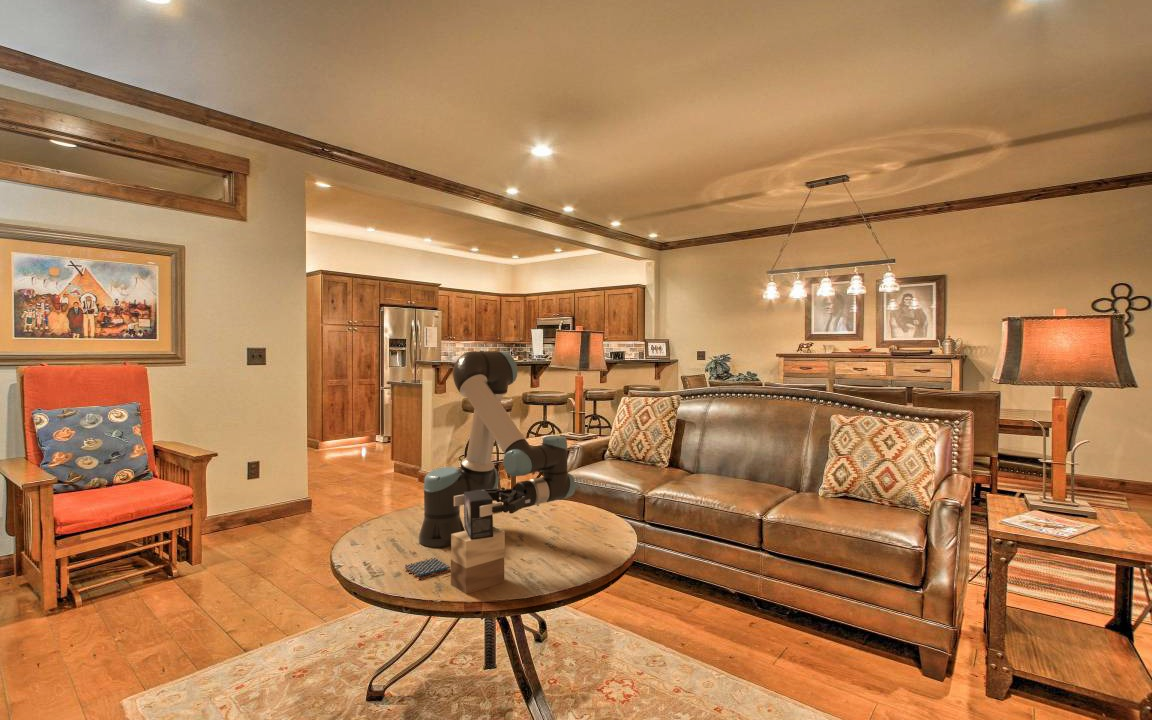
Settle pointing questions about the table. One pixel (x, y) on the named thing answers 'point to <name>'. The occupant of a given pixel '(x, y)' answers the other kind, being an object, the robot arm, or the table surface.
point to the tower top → (477, 548)
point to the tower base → (477, 575)
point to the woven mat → (427, 568)
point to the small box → (477, 515)
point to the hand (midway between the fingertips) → (466, 506)
